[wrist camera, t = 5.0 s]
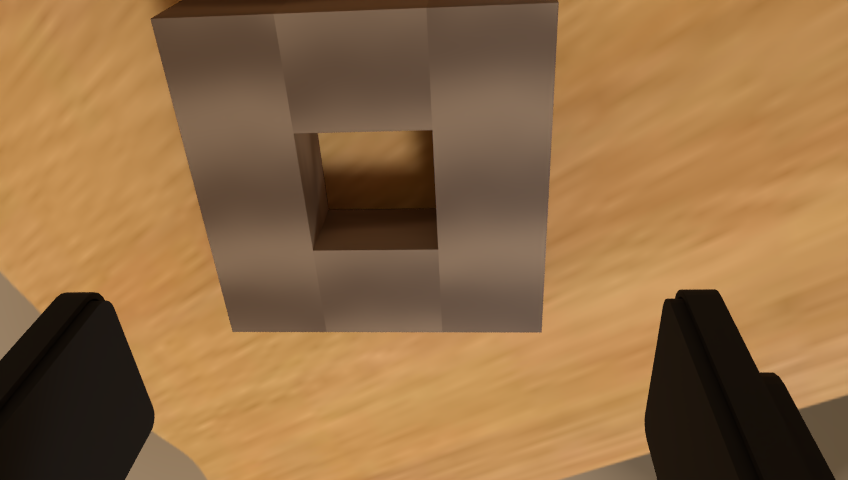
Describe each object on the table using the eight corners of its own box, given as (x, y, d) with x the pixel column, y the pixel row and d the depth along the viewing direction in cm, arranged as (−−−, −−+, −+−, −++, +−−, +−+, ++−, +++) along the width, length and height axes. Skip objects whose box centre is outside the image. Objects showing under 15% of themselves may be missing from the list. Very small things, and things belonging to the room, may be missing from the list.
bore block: (187, -3, 30) (150, 18, 26) (548, -19, 28) (558, 2, 25) (254, 287, 38) (232, 331, 35) (535, 285, 37) (541, 332, 33)
